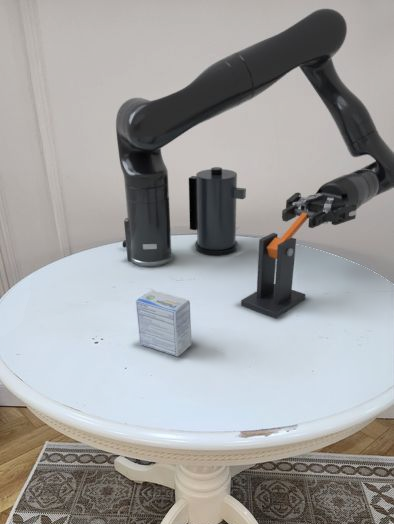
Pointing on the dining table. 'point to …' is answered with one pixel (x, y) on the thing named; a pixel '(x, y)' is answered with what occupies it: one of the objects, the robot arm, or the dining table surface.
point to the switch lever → (289, 231)
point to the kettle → (214, 210)
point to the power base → (279, 294)
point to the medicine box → (164, 322)
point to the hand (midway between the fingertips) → (297, 219)
